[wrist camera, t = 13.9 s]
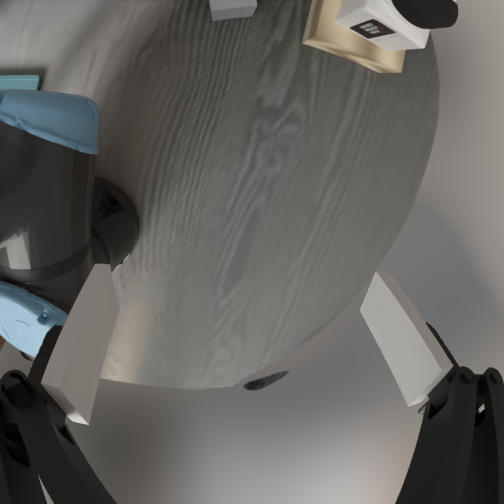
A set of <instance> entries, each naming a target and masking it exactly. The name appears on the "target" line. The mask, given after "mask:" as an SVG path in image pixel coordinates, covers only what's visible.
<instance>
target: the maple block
mask: <svg viewBox="0 0 504 504" xmlns="http://www.w3.org/2000/svg"><path fill="white" fill-rule="evenodd" d="M342 1H343V0H312V4H311V8H310V12H309V16H308V20H307V24H306V28H305V32H304V36H303V40H302V43H303V44H306V45H310V46H313V47H316V48H319V49H322V50H325V51H327V52H330V53H333V54H336V55H338V56H341V57H344V58H346V59H349V60H351V61H354V62H356V63H358V64H361V65H363V66H365V67H368V68H370V69H372V70H374V71H376V72H379V73H401V72H402V67H403V62H404V57H405V52H406V50H396V51H385V50H384V49H382V48H381V47H379V46H377V45H376V44H374V43H372V42H371V41H369V40H367V39H365V38H364V37H362V36H360V35H358V34H356V33H354V32H353V31H351V30H349V29H347V28H345V27H343V26H341V25H339V24H337V23H336V22H335V19H336V17H337V14H338V11H339V9H340V6H341V4H342Z"/></svg>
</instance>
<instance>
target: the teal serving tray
mask: <svg viewBox="0 0 504 504" xmlns="http://www.w3.org/2000/svg"><path fill="white" fill-rule="evenodd" d="M39 85H40V76H39V75H0V89H25V90H38V89H39Z"/></svg>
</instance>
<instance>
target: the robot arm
mask: <svg viewBox="0 0 504 504" xmlns="http://www.w3.org/2000/svg"><path fill="white" fill-rule="evenodd" d="M99 119H100V113H99V109H98V106H97V105H96V103H95V102H94V101H93V100H92V99H90V98H88V97H84V96H79V95H73V94H66V93H59V92H49V91H39V90H25V89H0V335H1V336H2V337H3V338H4V339H6V340H7V341H8V342H10V343H11V344H12V345H13V346H15V347H16V348H18V349H19V350H21V351H23V352H25V353H27V354H29V355H31V356H33V357H36V358H35V360H34V362H33V365H32V367H31V370H30V373H29V375H28V377H26V375H25V374H24V373H23V372H21V371H19V370H11V371H8V372H7V373H6V374H4V375H3V377H2V378H1V380H0V504H47V502H46V499H45V496H44V493H43V490H42V487H41V483H40V480H39V477H40V479H41V481H42V483H43V485H44V487H45V489H46V490H47V492H48V494H49V495H50V497H51V499H52V501H53V503H54V504H117V503H116V501H115V500H114V499H113V498H112V496H111V495H110V494H109V492H108V491H107V490H106V488H105V487H104V485H103V484H102V483H101V481H100V480H99V478H98V477H97V475H96V474H95V472H94V471H93V469H92V468H91V466H90V465H89V463H88V462H87V460H86V458H85V457H84V455H83V453H82V452H81V450H80V448H79V447H78V445H77V443H76V441H75V439H74V438H73V436H72V434H71V432H70V430H69V428H68V426H67V424H66V423H65V418H66V415H67V416H68V417H69V418H70V419H71V420H72V421H74V422H78V423H83V424H87V425H89V422H90V417H91V412H92V407H93V402H94V398H95V394H96V389H97V385H98V381H99V377H100V373H101V369H102V366H103V362H104V358H105V355H106V351H107V347H108V344H109V341H110V337H111V334H112V331H113V328H114V324H115V321H116V318H117V315H118V312H119V309H120V308H119V304H118V300H117V296H116V292H115V287H114V283H113V278H112V272H113V270H115V269H117V268H119V267H120V266H121V265H123V264H124V263H125V262H126V260H127V259H128V258H129V256H130V255H131V253H132V251H133V249H134V246H135V244H136V242H137V238H138V231H139V227H138V219H137V215H136V212H135V209H134V207H133V205H132V203H131V201H130V200H129V198H128V197H127V196H126V195H125V193H124V192H123V191H122V190H121V189H119V188H118V187H117V186H116V185H114V184H113V183H111V182H109V181H107V180H105V179H102V178H98V177H94V172H95V162H96V154H98V152H99V149H98V147H97V137H98V128H99ZM360 312H361V314H362V315H363V317H364V319H365V321H366V323H367V325H368V327H369V328H370V330H371V332H372V334H373V336H374V338H375V340H376V342H377V343H378V345H379V347H380V349H381V351H382V353H383V355H384V357H385V359H386V361H387V363H388V365H389V367H390V369H391V371H392V373H393V375H394V377H395V379H396V381H397V383H398V385H399V387H400V389H401V392H402V393H403V396H404V398H405V400H406V402H407V404H408V406H411V405H415V404H417V403H420V402H421V401H422V400H423V399H424V398H425V397H426V396H427V395H428V397H429V399H430V400H428V401H427V402H426V403H425V405H423V407H421V408H420V410H419V411H418V413H419V414H420V413H421V412H422V411H423V410H424V409H425V412H424V413H423V414H422V415H424V416H423V421H422V425H421V429H420V433H419V436H418V440H417V444H416V447H415V451H414V454H413V457H412V460H411V463H410V466H409V469H408V472H407V475H406V478H405V480H404V483H403V486H402V488H401V492H400V494H399V496H398V498H397V501H396V503H395V504H504V383H503V379H502V376H501V375H500V373H499V371H498V370H496V369H494V368H492V367H491V368H488V369H487V370H486V371H485V372H484V373H483V374H474V373H473V372H472V371H471V370H470V369H469V368H467V367H464V366H462V367H459V366H458V364H457V362H456V361H455V359H454V357H453V356H452V354H451V353H450V351H449V350H448V348H447V347H446V345H444V342H443V341H442V339H441V338H440V336H439V335H438V333H437V332H436V330H435V329H434V328H433V327H432V326H431V325H430V324H428V323H427V322H426V323H425V322H424V320H423V319H422V318H421V316H420V315H419V313H418V312H417V311H416V309H415V308H414V306H413V305H412V303H411V302H410V301H409V299H408V298H407V297H406V295H405V294H404V293H403V291H402V290H401V289H400V287H399V286H398V285H397V284H396V282H395V281H394V279H393V278H392V277H391V276H390V275H389V273H388V272H387V271H376V273H375V275H374V278H373V280H372V283H371V285H370V287H369V290H368V292H367V295H366V297H365V300H364V302H363V304H362V306H361V308H360ZM483 404H484V407H485V409H484V410H483V411H482V412H481V413H479V408H480V407H481V406H482V405H483ZM38 475H39V477H38Z"/></svg>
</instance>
